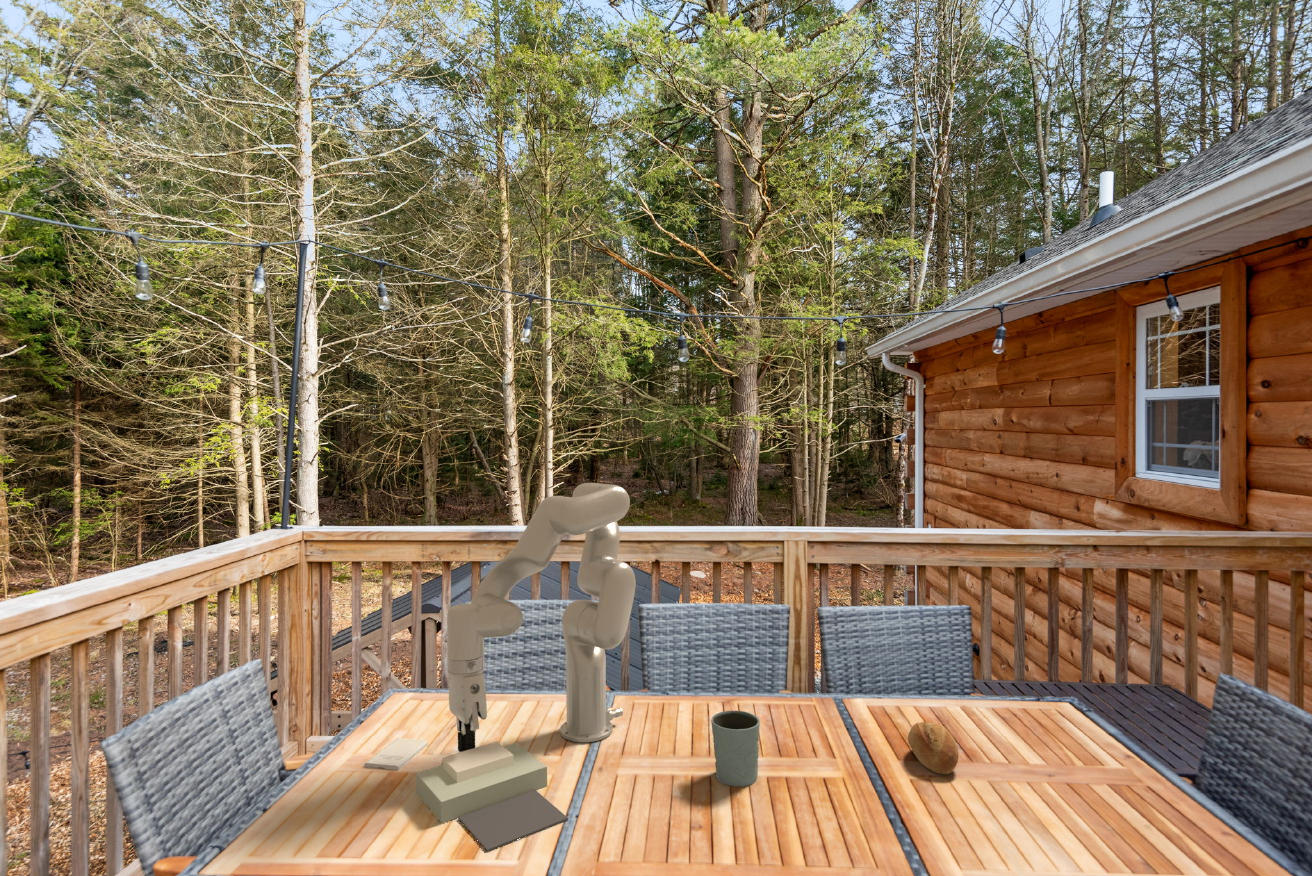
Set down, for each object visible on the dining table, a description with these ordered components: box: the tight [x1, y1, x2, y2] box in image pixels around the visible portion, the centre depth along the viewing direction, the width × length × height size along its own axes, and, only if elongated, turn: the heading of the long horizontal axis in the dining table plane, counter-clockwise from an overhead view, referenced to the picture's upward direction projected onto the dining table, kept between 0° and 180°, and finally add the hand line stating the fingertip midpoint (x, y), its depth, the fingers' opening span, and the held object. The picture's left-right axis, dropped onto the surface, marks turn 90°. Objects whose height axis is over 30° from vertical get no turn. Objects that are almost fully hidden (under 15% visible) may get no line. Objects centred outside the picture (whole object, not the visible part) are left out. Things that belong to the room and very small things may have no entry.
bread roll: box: [907, 720, 959, 775], centre depth 151 cm, size 10×15×8 cm, turn 175°
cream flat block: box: [441, 741, 514, 783], centre depth 142 cm, size 12×8×2 cm, turn 128°
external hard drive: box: [363, 737, 429, 771], centre depth 155 cm, size 2×8×12 cm
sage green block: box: [415, 742, 548, 824], centre depth 140 cm, size 22×14×4 cm, turn 128°
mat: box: [457, 790, 569, 853], centre depth 129 cm, size 16×13×1 cm
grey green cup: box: [710, 710, 761, 788], centre depth 145 cm, size 10×10×12 cm
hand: (466, 750), depth 146 cm, fingers closed
